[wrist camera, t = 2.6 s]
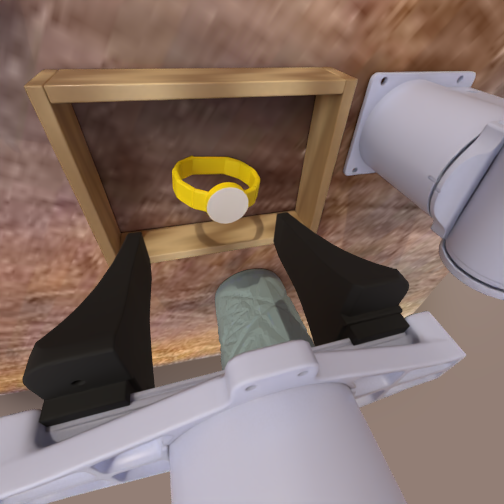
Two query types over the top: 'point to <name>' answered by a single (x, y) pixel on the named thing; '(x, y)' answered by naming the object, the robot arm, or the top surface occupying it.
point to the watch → (217, 187)
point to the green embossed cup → (255, 314)
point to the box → (191, 87)
